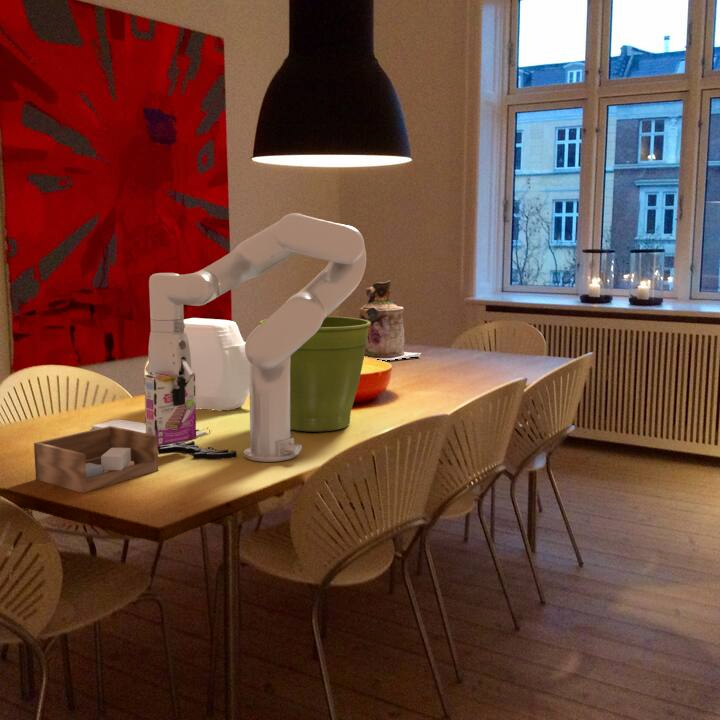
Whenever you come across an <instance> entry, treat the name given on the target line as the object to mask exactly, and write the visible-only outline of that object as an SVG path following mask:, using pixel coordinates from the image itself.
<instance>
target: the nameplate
mask: <svg viewBox="0 0 720 720" xmlns="http://www.w3.org/2000/svg"><path fill="white" fill-rule="evenodd" d="M176 452H178V453H179V452H180V453H185V454H187V453H188V454H191V453H193V454H192V455H193V460H199V459H202V458H203V459H205V460H223V458H224V459H225V458H226V459H232V457H233V458H236V457H237V451H236V450H231V451H229V449H220V450H217V449H215V448H214V447H212V446H207V448H206V447H205V448H203V447H200V446H199V445H196V444H195V441H194V440H191V441H188V442H185V443H183V442H178V443H173V444H167V445H162V446H158V454H168V453H176Z"/></svg>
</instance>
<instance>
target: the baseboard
mask: <svg viewBox="0 0 720 720" xmlns="http://www.w3.org/2000/svg"><path fill="white" fill-rule="evenodd" d="M107 426H114V427H119V428H123V429H128V430H133V431H137V432H142V433H146V422H139V421H132V420H125V419H118V418H115V419H113V420H110V421H106V422H101V423H97V424H94V425H92V426H91V429H92V428H94V429H98V428H103V427H107ZM94 429H93V430H94ZM204 430H209V431H208V432H206V431H204ZM207 434H209V435H211V430H210V429H209V427H207V428H204V429H201V430H200V429H196V439H199V437H200V438H203V437H205V436H204V435H206V436H208V435H207ZM202 436H203V437H202ZM196 439H195V440H196ZM188 442H192V440H189V441H183V443H188Z"/></svg>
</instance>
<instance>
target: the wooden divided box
mask: <svg viewBox="0 0 720 720" xmlns="http://www.w3.org/2000/svg"><path fill="white" fill-rule="evenodd" d="M111 448H130V450H131V461H133V462H134V465H132V466H129V467H125V468H123V469H122V470H114V471H111V472H107V473H104V474H100V475H97V476H93V477H89V478H86V464H87V463H93V464H97V465H100V464H101V456H102V455H103V454H105V453H106V452H107V451H108V450H109V449H111ZM33 451H34V454H33V455H34V469H35V480H36V481H40V482H44V483H47V484H50V485H54V486H58V487H61V488H64V489H67V490H71V491H75V492H78V493H81V494H85V493H88V492H91V491H94V490H98V489H101V488H105V487H108V486H112V485H115V484H119V483H122V482H125V481H128V480H127V479H129V480H131V479H130V478H132V479H135V478H134V477H136V478H138V477H137V476H139V477H141V476H140V475H142V476H145V475H144V474H146V475H149V474H152V473H151V472H153V473H155V471H156V472H158V471H159V451H158V442H157V436H156V435H151V434H147V433H142V432H137V431H133V430H128V429H123V428H119V427H114V426H107V427H103V428H98V429H91V430H86V431H85V430H84V431H81V432H76V433H72V434H68V435H65V436H64V435H63V436H59V437H54V438H50V439H47V440H41V441H38V442H34V443H33ZM148 473H149V474H148ZM118 482H119V483H118Z"/></svg>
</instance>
